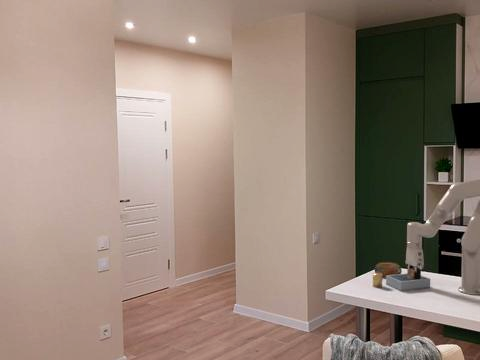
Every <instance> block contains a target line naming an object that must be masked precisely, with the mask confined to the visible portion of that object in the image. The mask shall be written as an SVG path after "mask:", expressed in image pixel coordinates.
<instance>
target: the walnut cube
mask: <svg viewBox="0 0 480 360" xmlns="http://www.w3.org/2000/svg"><path fill="white" fill-rule="evenodd" d="M406 269H407V271H406V274H407V278H409V279H411V280H415V267H413V268H412V269H408V268H406ZM421 276H422V271H421V272H420V279H421ZM418 280H419V279H418Z"/></svg>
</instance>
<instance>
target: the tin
mask: <svg viewBox="0 0 480 360" xmlns="http://www.w3.org/2000/svg"><path fill="white" fill-rule="evenodd" d="M374 273H382V278H386V275H397V274H402V267H401V266H400V264H398V263H396V262H378V263H377V264H376V265H375V267H374Z"/></svg>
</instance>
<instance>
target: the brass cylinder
mask: <svg viewBox="0 0 480 360" xmlns="http://www.w3.org/2000/svg"><path fill="white" fill-rule="evenodd" d="M372 287H373V288H378V289H380V288H383V277H382V273H375V272H373V273H372Z"/></svg>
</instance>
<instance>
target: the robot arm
mask: <svg viewBox="0 0 480 360" xmlns="http://www.w3.org/2000/svg"><path fill="white" fill-rule="evenodd" d="M475 197H479V199H478V202H477V203H476V207H475V209H474V211H473V214H472V215H471V216H470V219H469V222H468V223H467V226H466V228H465V231H464V233H463V235H462V236H461V241H460V243H461V286H458V288H457V289H458V292H460V293H463V294H466V295H472V296H473V295H480V177H478V178H476V179H471V180H466V181H462V182H460V181H457V182H454V183H452V184H451V185H450V187H449V188H448V190H447V191H446V193H444V195H443V197H442V198H441V199H440V201H439V202H438V203H437V205H436V207H435V209H434V210H433V212H432V214H431V215H430V216H429V218H428V219H427V220H426V222H425V223H421V222H417V221H415V222H414V221H411V222H408V223H407V225H406V227H407V228H406V251H405V253H406V254H405V261H404V262H405V265H406V267H407V269H412V268H415V280H418V279H420V272H421V273H422V270H423V269H424V266H425V264H424V260H425V259H424V250H423V247H422V246H423V243H422V242H423V239H422V238H427V239H428V238H433V237H435V236H436V234H437V233H438V231H439V229H441V228H442V226H443V224H444V223H445V222H446V220H447V219H448V218H449V217H451V215H453V213H454V212H455V211H456V209H457V208H458V207H459V205H460V204H461V202H462V201H464V200H466V199H471V198H475Z"/></svg>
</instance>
